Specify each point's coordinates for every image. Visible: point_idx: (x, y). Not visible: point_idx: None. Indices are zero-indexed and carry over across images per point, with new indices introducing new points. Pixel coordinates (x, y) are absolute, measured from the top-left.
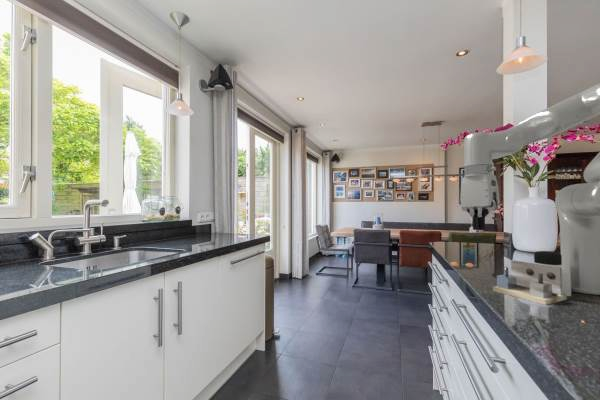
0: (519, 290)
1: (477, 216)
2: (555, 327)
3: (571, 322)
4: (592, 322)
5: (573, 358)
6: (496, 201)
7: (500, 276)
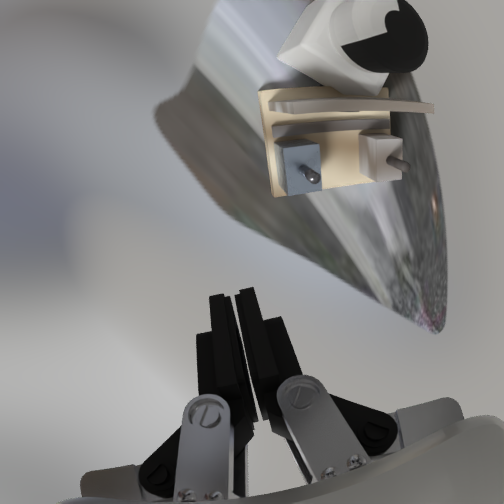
0: (326, 158)
1: (249, 417)
2: (421, 262)
3: (428, 225)
4: (440, 195)
5: (438, 306)
6: (500, 474)
7: (299, 193)
